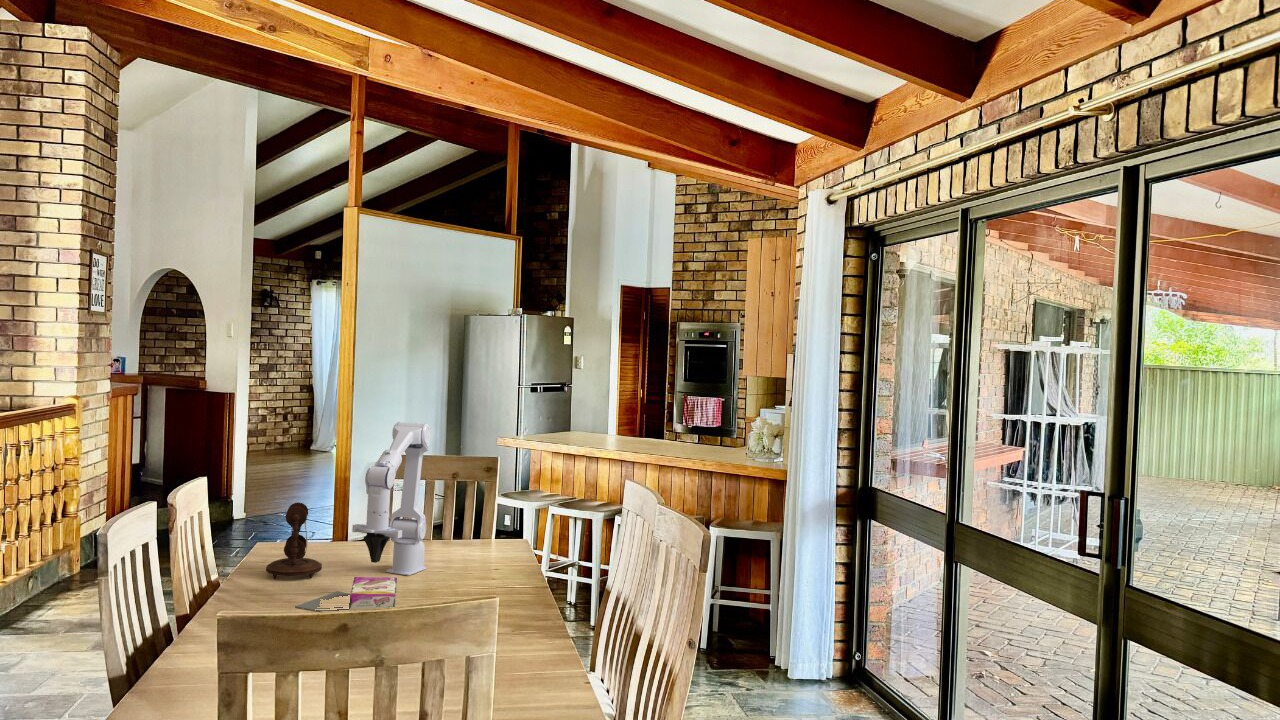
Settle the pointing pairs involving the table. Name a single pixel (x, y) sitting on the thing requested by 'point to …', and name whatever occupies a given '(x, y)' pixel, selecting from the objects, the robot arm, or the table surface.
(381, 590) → the candy bar box
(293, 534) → the wooden ornament
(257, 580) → the table surface
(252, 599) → the table surface
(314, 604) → the mat
